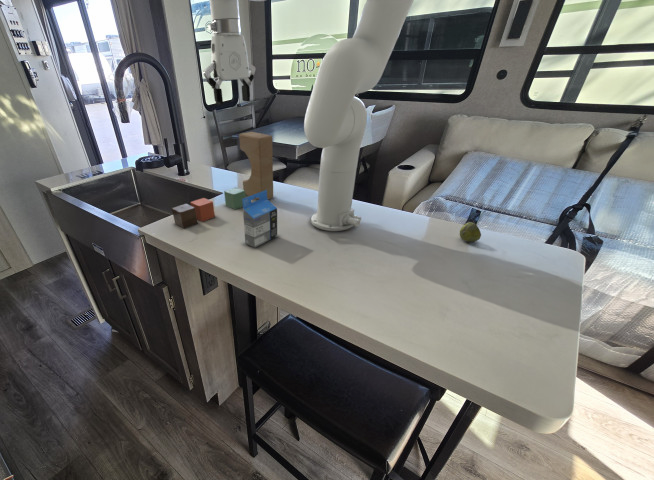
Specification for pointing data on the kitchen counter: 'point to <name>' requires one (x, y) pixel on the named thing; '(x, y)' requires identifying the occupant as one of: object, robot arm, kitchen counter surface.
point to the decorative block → (258, 163)
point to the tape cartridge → (259, 219)
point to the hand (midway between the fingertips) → (233, 102)
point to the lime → (470, 232)
